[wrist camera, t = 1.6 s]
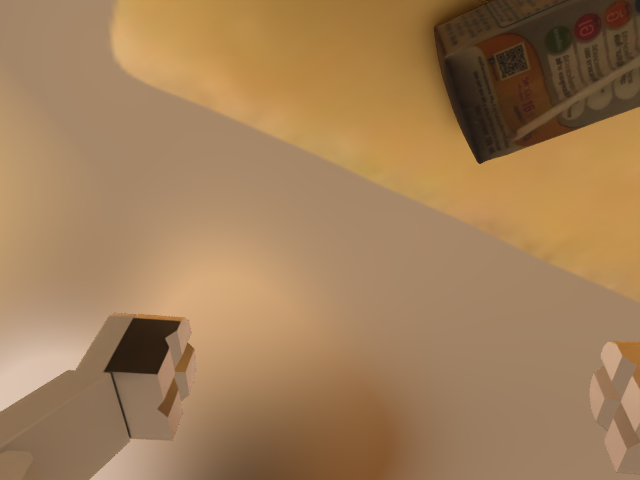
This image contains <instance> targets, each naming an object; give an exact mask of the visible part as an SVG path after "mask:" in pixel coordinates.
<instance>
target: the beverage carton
mask: <svg viewBox="0 0 640 480" xmlns="http://www.w3.org/2000/svg"><path fill="white" fill-rule="evenodd" d="M434 33H435V41H436V48H437V53H438V59H439V63H440V68H441V72H442V76H443V79H444V83H445V87H446V90H447V93H448V96H449V99H450V102H451V105H452V108H453V110H454V113H455V116H456V118H457V121H458V123H459V125H460V128H461V130H462V132H463V135H464V137H465V139H466V141H467V143H468V145H469V147H470V149H471V151H472V153H473V155H474V156H475V158H476V160H477V162H478V163H479V164H481V163H483V162H485V161H487V160H490V159H493V158H497V157H501V156H504V155H507V154H510V153H513V152H515V151H518V150H520V149H523V148H526V147H529V146H532V145H535V144H537V143H540V142H543V141H546V140H549V139H551V138H554V137H557V136H560V135H563V134H565V133H568V132H571V131H574V130H577V129H579V128H582V127H585V126H587V125H590V124H593V123H595V122H598V121H601V120H604V119H607V118H609V117H612V116H615V115H618V114H621V113H623V112H626V111H629V110H632V109H635V108H637V107H640V0H493V1H491V2H489V3H487V4H485V5H482V6H480V7H478V8H476V9H473V10H471V11H469V12H467V13H465V14H463V15H460V16H458V17H456V18H454V19H452V20H450V21H448V22H446V23H444V24H441V25H439V26H436V27H435V28H434Z"/></svg>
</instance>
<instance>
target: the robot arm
mask: <svg viewBox="0 0 640 480" xmlns="http://www.w3.org/2000/svg"><path fill="white" fill-rule="evenodd" d="M190 335H191V328H190V324H189V320H188V319H186V318H183V317H170V316H157V315H144V314H138V315H137V314H126V313H113V314H112V315H110V316H109V317H108V318H107V320H106V321H105V323H104V324H103V326H102V328H101V329H100V331H99V333H98V334H97V336H96V337H95V339H94V341H93V342H92V344H91V346H90V347H89V349H88V351H87V352H86V354H85V355H84V357H83V359H82V360H81V362H80V364H79V365H78V367H77V368H76V370H75V371H73V370H68V371H66V372H64V373H63V374H61V375H60V376H58V377H56V378H55V379H53V380H51V381H50V382H48V383H47V384H45V385H43V386H42V387H40V388H38V389H37V390H35V391H34V392H32V393H30V394H29V395H27V396H25V397H24V398H22V399H21V400H19V401H17V402H16V403H14V404H12V405H11V406H9V407H8V408H6V409H4V410H3V411H1V412H0V480H89V479H90V478H92V476H94V475H95V474H96V473H97V472H98V471H99V470H100V469H101V468H102V467H103V466H104V465H105V464H106V463H107V462H109V461H110V460H111V459H112V458H113V457H114V456H115V455H116V454H117V453H118V452H119V451H120V450H121V449H123V447H125V446H126V445H127V444H128V443H129V442H130V439H149V440H172V441H173V439H174V436H175V434H176V431H177V428H178V425H179V423H180V420H181V417H182V415H183V409H182V404H181V401H182V400H184V399H185V398H186V397H187V396H188V395H190V392H191V389H192V386H193V383H194V377H195V371H196V357H195V350H194V348H193V347H192V346H191V345H190V344H188V340H189V337H190ZM600 357H601V359H602V361H603V363H604V366H603V367H601V368H600V369H599V370H597V371H596V372H594V374H593V377H592V380H591V383H590V396H589V400H590V405H591V410H592V413H593V415H594V418H595V421H596V422H597V423H598V424H599V425H601V426H602V427H603V428H604V429H605V430H606V431H608V432H607V435H606V437H605V440H604V443H605V446H606V448H607V451H608V453H609V456H610V458H611V461H612V463H613V465H614V468H615V470H616V472H617V473H626V474H636V475H640V342H639V343H638V342H618V341H609V342H608V343H607V344H606V345H605V346H604V347H603V350H602V352H601V355H600Z"/></svg>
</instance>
